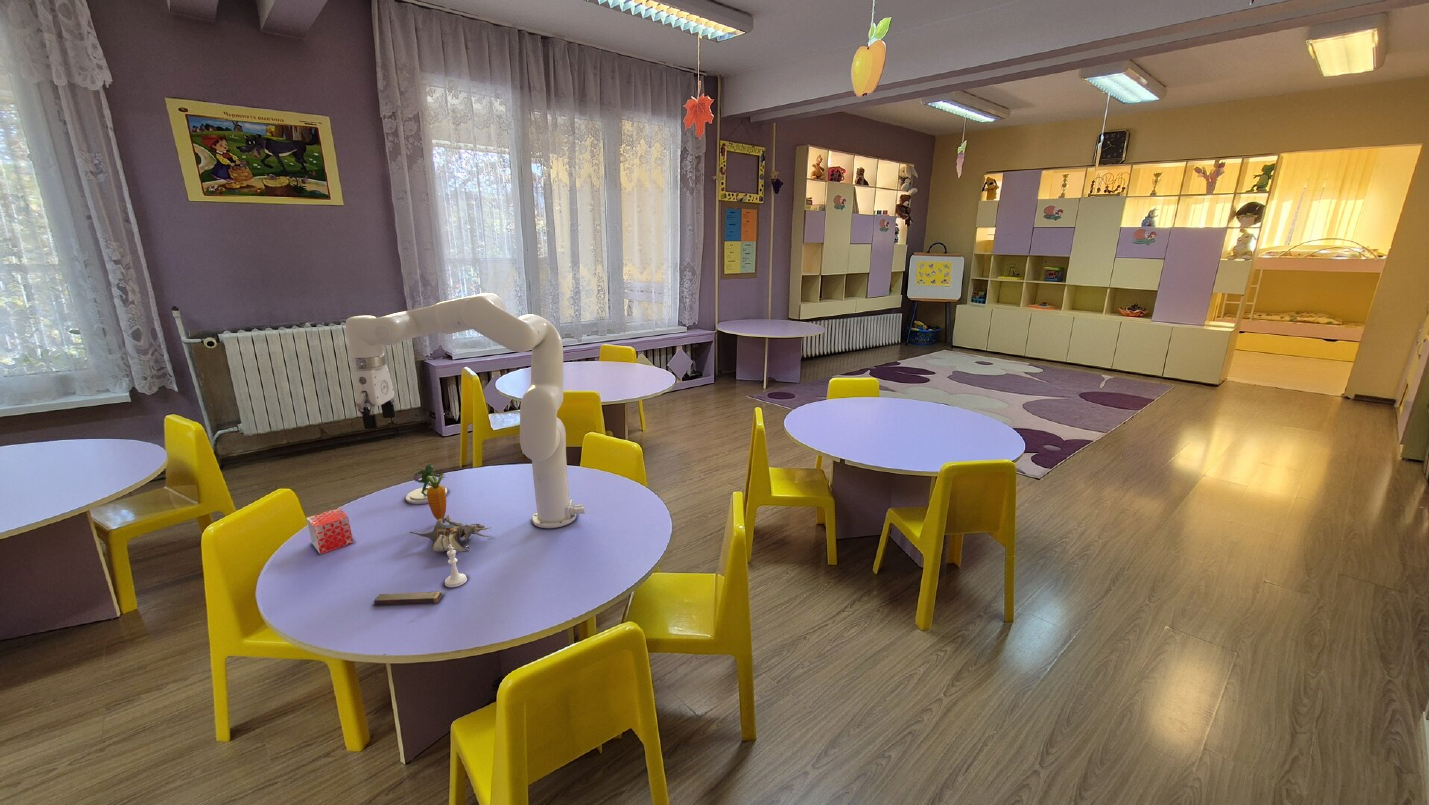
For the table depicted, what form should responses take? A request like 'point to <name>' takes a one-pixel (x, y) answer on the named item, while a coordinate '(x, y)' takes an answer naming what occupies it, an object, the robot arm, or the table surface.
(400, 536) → the table surface
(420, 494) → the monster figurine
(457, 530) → the figurine
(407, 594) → the walnut stick
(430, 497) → the carrot
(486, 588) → the table surface
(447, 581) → the chess piece
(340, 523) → the red patterned box
